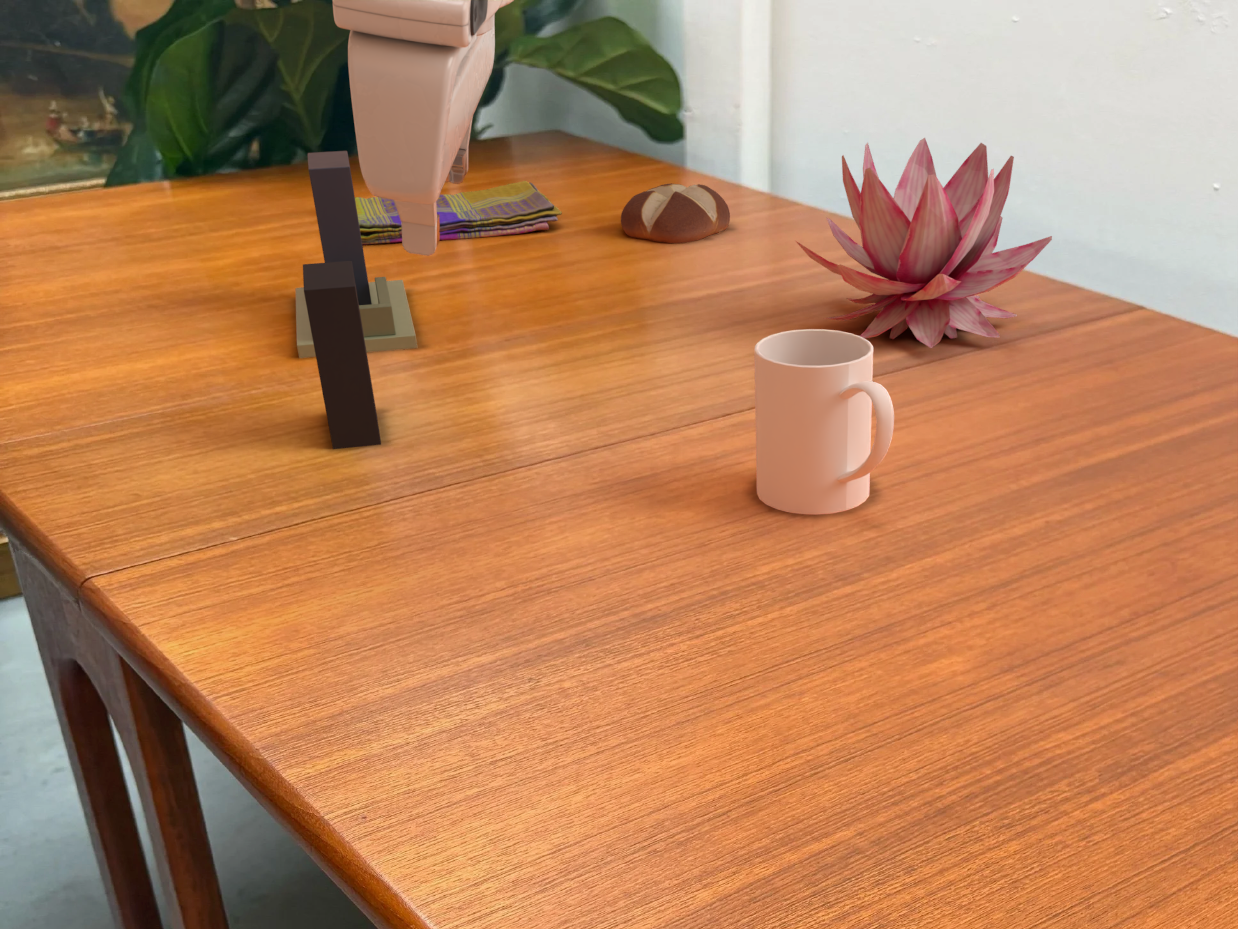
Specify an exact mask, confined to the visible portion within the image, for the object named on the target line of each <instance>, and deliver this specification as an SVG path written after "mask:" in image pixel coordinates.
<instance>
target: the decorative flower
mask: <svg viewBox="0 0 1238 929" xmlns="http://www.w3.org/2000/svg"><path fill="white" fill-rule="evenodd" d="M915 146H916V147H915V148H914V150H913V152H912V153H911V155H910V157H909V159H908V160H907V162H906V164H905V167H904V169H903V171H902V174H901V176H900V178H899V180H898V183H897V185H896V187H895V189H894V194H893V195H892V194H891V192H889V190H888V189H887V187H886V186H885V185H884V183H883V182H882V181H881V179H880V177H879V174H878V172H877V169H876V166H875V163H874V159H873V156H872V153H871V148H870V145H869V142H868V141H867V142H866V143H865V145H864V153H863V154H864V155H863V165H862V179H863V180H862V184H861V189H859V186H858V185H857V182H856V181H855V178H854V176H853V174H852V172H851V170H850V167H849V166H848V163H847V161H846V158H845V155H844V154H842V156H841V170H842V171H841V172H842V173H841V174H842V184H843V186H844V190H845V194H846V198H847V201H848V205H849V208H850V213H851V215H852V216H851V217H852V218H853V220H854V222H855V224H856V225H857V227H858V230H859V231H860V238H861V245H860V244H859V243H858V242H856V241H854V239H852V237H850V236H849V235H848V234H847V233H846V231H844V230H843V229H842V228H841V227H839V225H837V224H836V223H835V222H834V221H833V220H832V219H831V218H829V217H826V221H827V223H828V225H829V228H830V231H831V233H832V236H833V237H834V239H835V240H836V241H837V243H838V244H839V246H841V247H842V249H843V250H844V252H845V253H846V254H847V255H848V256H849V257H850V258H851V259H853V260H854V261H856V262H857V263H858V264H859V265H861V266H863V268H865V269H866V270H867V271H869V272H870V273H872V274H874V275H875V276H874V275H871V274H869V273H865V272H861V271H859V270H857V269H853V268H851V267H848V266H846V265H843V264H841V263H840V264H838V263H835V262H832V261H829V260H827V259H826V258H824V257H822V256H821V255H819V254H817V253H816V252H814V251H813V250H811V249H810V248H808V247H807V246H805V245H803V244H802V243H800V242H798V241H797V240H795V243H796V244H797V245H798V246H799V247H800V249H802V251H804V253H805V254H806V255H807V256H808V257H809V258H810V259H811V260H813V261H814V262H816V263H818V265H820V266H822V267H824V268H825V269H826V270H828V271H830V272H831V273H833V274H836V275H839V276H841V278H842V279H843V281H844V282H845V283H847V284H848V285H850V286H851V287H854V288H855V289H857V290H858V291H861V292H865V293H869V294H870V295H868V296H865V297H861V298H851V297H850V298H849V297H846V300H848V301H850V302H853V303H854V304H859V305H860V304H861V305H867V304H871V305H868V306H866V307H862V308H861V309H858V310H856V311H852V312H850V313H847V314H843V315H836V316H829V317H825V318H824V317H823V318H822V319H824V320H832V321H843V322H847V321H850V320H852V319H856V318H859V317H862V316H866V315H868V314H872V313H875V312H878V314H876V316H875V317H874V318H873V320H872V321H871V323H870V324H868V326H867V328H865V329H864V331H863V332H862V333H861V334H860V335H859V336H860V337H863V338H864V339H870V338H874V337H879V336H880V335H881V334H883V333H885V332H887V331H888V330H890V329H891V331H890V334H889V337H888V338H889V339H892V340H895V339H896V338H897V337H898V336H900V335H901V334H902V333H904V332H905V331H906V330H907V329H908V328H909V329H910V330H911V332H912V334H913V335H914V337H915V338H916V340H917V341H919V343H922V344H923V345H925V346H926V347H928V348H930V349H933V348H934V347H935V346H936V345H938V344H939V343H940V342H941V340H942V338H943V336H944V334H945V335H946V336H947V337H948V338H949V339H951V340H952V339H955V338H956V339H958V332H957V329H958V330H961V331H963V332H964V331H965V332H968V333H972V334H975V335H977V336H982V337H985V338H1001V336H1000V332H998V330H997V329H996V328H995V327H994V326H993V324H992V323H991V322H990V320H989V319H1010V318H1015V317H1018V314H1017V313H1014V312H1012V311H1008V310H1005V309H1002V308H999V307H997V306H995V305H993V304H991V303H988V302H987V301H984V300H982V299H980V298H981V296H980V294H984V293H988V292H989V293H990V292H991V291H993V290H994V289H996V288H998V287H1000V286H1001V285H1004V284H1005V283H1007V282H1009V281H1011V280H1012V279H1014V278H1016V277H1018V275H1019V274H1020V273H1021V272H1022V271H1023V270H1024V269H1026V268H1027V266H1028V265H1029V264H1030V263H1031V262H1033V261H1034V260H1035V259H1036V257H1037V256H1038V255H1040V253H1042V251H1043V250H1044V249H1045V248H1046V247H1047V246H1048V245H1049V243H1050V242H1051V241H1052V240H1053V236H1052V235H1050V236H1047V237H1044V238H1041V239H1038V240H1035V241H1032V242H1029V243H1026V244H1022V245H1018V246H1014V247H1010V248H1006V249H1002V250H999V251H995V252H994V250H995V249H996V247H997V245H998V241H999V240H998V239H999V236H1000V231H1001V226H1002V222H1003V216H1002V213H1003V210H1004V207H1005V204H1006V201H1007V198H1008V195H1009V191H1010V187H1011V180H1012V172H1013V168H1014V165H1013V164H1014V160H1015V156H1013V155H1010V156H1009V157H1008V159H1007V160H1006V162H1005V163H1004V164H1003V166H1002V167H1001V169H1000V170H999V172H998V173H997V174H996V176H995V169H994V168H992V169H991V170H990V172H989V167H988V148H987V145H986V144H984V143H983V142H980V143H979V144H978V145H977V146H976V148H975V149H973V150H972V152H971V153H970V154H969V155H968V157H966V159H965V160H964V161H963V162H962V164H960V166H959V167H958V168H957V170H956V171H955V172H954V173H953V175H952V176H951V178H950V179H949V180H948V181H947V183H946V184H945V185H944V186H943V185H942V183H941V181H940V180H939V178H938V176H937V171H936V168H935V164H934V160H933V156H932V153H931V150H930V148H929V145H928V142H927V140H926V137H924V138H921V139H920V140H919V141H918V143H917V144H916V145H915ZM878 276H879V277H878ZM881 277H882V278H881ZM988 318H989V319H988Z"/></svg>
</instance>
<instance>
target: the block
mask: <svg viewBox="0 0 1238 929" xmlns="http://www.w3.org/2000/svg"><path fill="white" fill-rule="evenodd" d="M302 280H303V282H302V283H303V287H304V295H305V300H306V305H307V311H308V316H309V322H310V327H311V333H312V338H313V343H314V349H315V354H316V357H315V359H316V366H317V370H318V375H319V382H320V386H321V392H322V397H323V402H324V408H325V413H326V419H327V424H328V430H329V436H330V440H331V446H332V450H341V449H351V448H361V447H371V446H372V447H373V446H381V445H382V440H381V433H380V427H379V420H378V413H377V412H378V411H377V408H376V401H375V400H376V399H375V395H374V388H373V383H372V377H371V370H370V365H369V359H368V358H369V357H368V352H366V345H365V339H364V333H363V327H362V321H361V315H360V309H359V303H358V297H357V291H356V285H355V279H354V273H353V267H352V261H342V262H328V263H325V262H317V263H303V264H302Z"/></svg>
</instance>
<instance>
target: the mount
mask: <svg viewBox="0 0 1238 929" xmlns="http://www.w3.org/2000/svg"><path fill="white" fill-rule="evenodd" d="M349 159H350V158H349V154H348V151H347V150H337V151H334V150H333V151H319V152H318V151H317V152H307V170H308V176H309V181H310V186H311V193H312V198H313V203H314V209H315V214H316V221H317V226H318V232H319V239H320V245H321V250H322V255H323V261H324V262H323V263H328V262H342V261H352V267H353V273H354V279H355V285H356V291H357V297H358V303H359V309H360V315H361V321H362V327H363V333H364V339H365V345H366V352H367V353H378V352H388V351H398V350H411V349H418V340H417V334H416V331H415V326H414V322H413V318H412V312H411V308H410V305H409V300H408V296H407V292H406V288H405V287H406V286H405V284H404V280H403V279H395V280H387V277H386V276H377V277H374V281H369V279H368V271H367V266H366V258H365V253H364V245H362V239H361V233H360V227H359V221H358V214H357V208H356V202H355V190H354V184H353V179H352V178H353V177H352V172H351V171H352V170H351V164H350V160H349ZM295 325H296V326H295V327H296V328H295V330H296V334H295V335H296V350H297V353H298V354H297V355H298V359H307V358H308V359H309V358H316V354H315V349H314V343H313V338H312V333H311V327H310V322H309V316H308V311H307V305H306V300H305V295H304V286H302V287H296V288H295Z"/></svg>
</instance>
